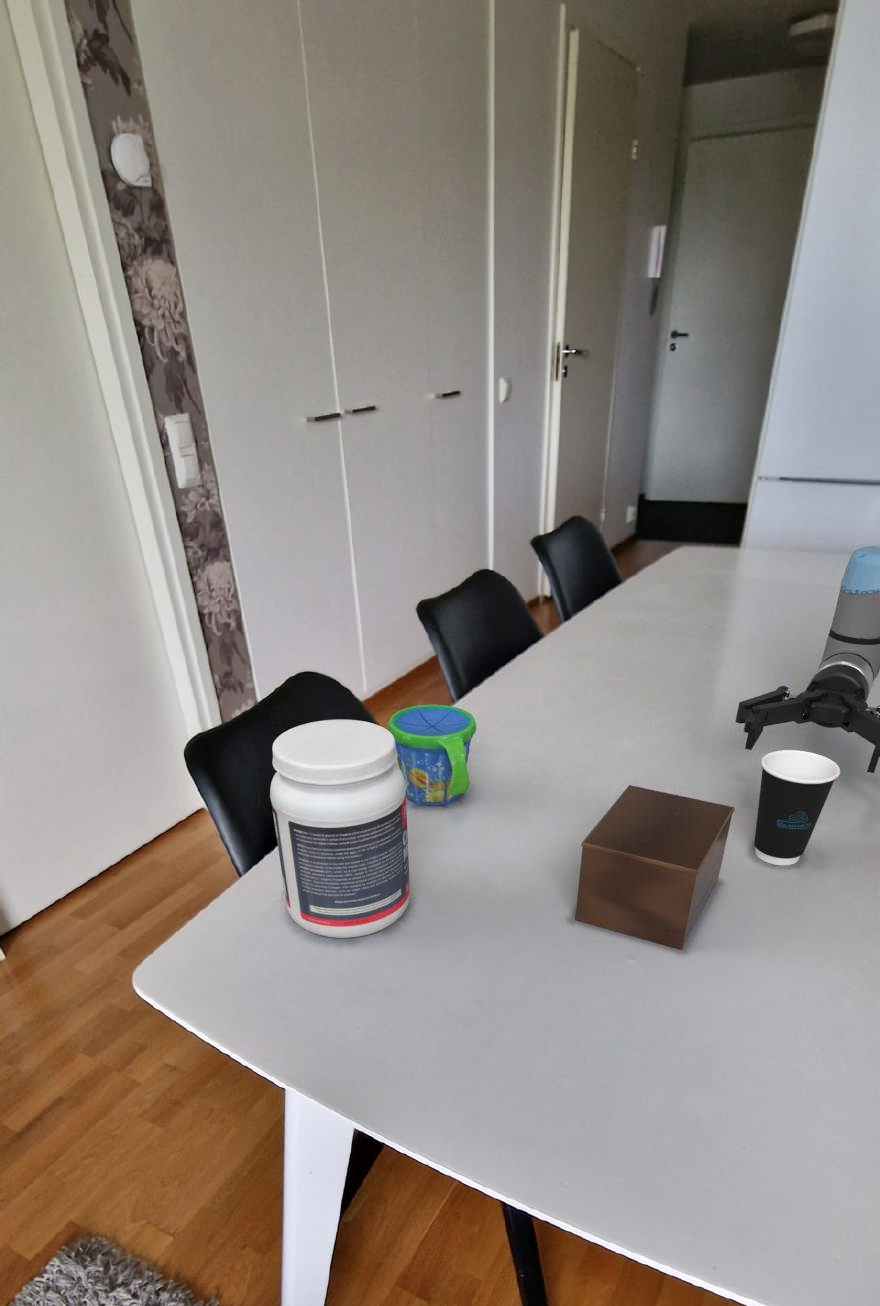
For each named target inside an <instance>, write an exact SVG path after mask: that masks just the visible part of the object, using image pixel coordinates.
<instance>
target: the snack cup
mask: <svg viewBox="0 0 880 1306" xmlns="http://www.w3.org/2000/svg"><path fill="white" fill-rule="evenodd" d="M387 730H388V731H389V732H390V733H391V734H392V735H393V736H394V738H395V743H396V751H397V760H396V762H397V766H398V767H399V768H400V770H401V771H402V773H403V776H404V779H405V783H406V799H408V800H410V801H413V802H414V803H415V804H416V805H417V806H421V805H425V806H431V807H434V806H447V805H448V804H449V803H452V802H454V801H456V800H457V799H458V798H460V796H461V795H462V794H463V793H465V792H466V791H467V790H468V789H469V787H470V777H469V772H468V761H469V755H470V746H471V741H472V739H473V736H474V735H475V733H476V732H477V723H476V719H475V717H474V716H473V715H472V714H471V713H470V712H469V711H467V710H465V709H462V708H459V707H456V706H452V705H445V704H420V705H414V706H409V707H406V708H402V709H400V710H398V711H396V712H395V713H394V714H392V716H391V717H390V718H389V720H388V722H387Z"/></svg>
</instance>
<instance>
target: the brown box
mask: <svg viewBox="0 0 880 1306" xmlns="http://www.w3.org/2000/svg"><path fill="white" fill-rule="evenodd" d="M735 809H736V806H730V805H727V804H721V803H716V802H713V801H707V800H702V799H699V798H698V799H697V798H692V797H689V796H683V795H680V794H679V795H678V794H675V793H669V792H665V791H659V790H655V789H650V788H647V787H641V786H637V785H631V784H629V785H628V786H627V787H626V788H625V790H624V791H623V792H622V793H621V794H620V796H619V797H618V798H617V799H616V801H615V802H613V804H612V805H611V807H610V808H609V809H608V810H607V811H606V813H605V814H604V815H603V816H602V817H601V818H600V820H599V821H598V822H597V823H596V825H595V826H594V827H593V828H592V829H591V830H590V832H589V833H588V834H587V836H586V837H585V838H584V839H583V840H582V842H581V843H580V846H581V858H580V860H581V861H580V868H579V878H578V888H577V897H576V907H575V915H574V920H575V921H578V922H582V923H584V924H588V925H592V926H595V927H598V928H602V929H604V930H609V931H613V932H617V933H620V934H623V935H628V936H631V937H634V938H638V939H641V940H644V941H648V942H652V943H655V944H658V945H662V946H666V947H670V948H672V949H676V950H680V951H682V950H683V949H684V947H685V944H686V943H687V941H688V940H689V937H690V936H691V934H692V931H693V930H694V927H695V925H696V924H697V922H698V920H699V918H700V916H701V915H702V913H703V911H704V909H705V907H706V905H707V903H708V901H709V899H710V897H711V895H712V894H713V891H714V889H715V887H716V886H717V884H718V882H719V878H720V872H721V867H722V864H723V859H724V854H725V850H726V845H727V842H728V836H729V832H730V828H731V827H730V826H731V822H732V818H733V814H734V812H735Z"/></svg>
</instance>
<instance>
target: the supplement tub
mask: <svg viewBox="0 0 880 1306" xmlns="http://www.w3.org/2000/svg"><path fill="white" fill-rule="evenodd" d="M271 748H272V750H271V751H272V760H271V761H272V767H273V769H274V770H275V771H276V772H275V774H274V775H273V777H272V779H271V782H270V788H269V789H270V790H269V792H270V793H269V798H270V802H271V808H272V815H273V822H274V828H275V835H276V841H277V842H276V843H277V847H278V856H279V862H280V870H281V877H282V883H283V891H284V897H285V907H286V909H287V911H288V913H289V915H290V917H291V919H292V920H293V921H294V922H295V923H296V924H297V925H298V926H300V928H303V929H304V930H306V931H308V932H310V933H313V934H316V935H318V936H323V937H327V938H337V939H349V938H358V937H363V936H367V935H371V934H373V933H377V932H379V931H381V930H384V929H386V928H388V927H389V926H391V925H392V924H394V923H395V922H397V921H398V920H399V919H400V918H401V917H402V916H403V914H404V913H405V912H406V910H407V908H408V906H409V903H410V900H411V887H410V886H411V885H410V861H409V837H408V835H409V834H408V813H407V812H408V810H407V809H408V808H407V797H406V783H405V779H404V776H403V773H402V771H401V770H400V768H399V767H398V764H397V763H396V762H397V751H396V743H395V738H394V736H393V735H392V734H391V733H390V731H389V729H388V728H387V729H386V728H385V727H383V726H381V725H379V724H377V723H376V724H375V723H373V722H369V721H364V720H357V719H325V720H317V721H312V722H308V723H304V724H300V725H297V726H295V727H292V728H290V729H288V730H286V731H284V732H282V733H281V734H280V735H278V736H277V737H276V738H275V740H274V741H273V743H272V747H271Z"/></svg>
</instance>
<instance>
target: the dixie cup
mask: <svg viewBox="0 0 880 1306" xmlns="http://www.w3.org/2000/svg"><path fill="white" fill-rule="evenodd" d="M760 765H761V767H762V772H761V779H760V780H761V781H760V786H759V787H760V789H759V797H758V807H757V814H756V825H755V831H754V842H753V844H754V848H755V850H754V854H755V856H756V857H757V858H758V859H760V860H761V861H763V862H765V863H768V864H770V865H776V866H790V865H794V864H796V863H798V862H799V860H800V859H801V856H802V855H804V853H805V851H806V849H807V846H808V844H809V842H810V839H811V837H812V834H813V832H814V830H815V827H816V825H817V822H818V820H819V818H820V816H821V813H822V811H823V808H824V806H825V804H826V801H827V799H828V797H829V793H830V792H831V789H832V787H833V784H834V782H835V780H836V779H837V778H839V776H840V774H841V768H840V766H839V765H838V763H836V762H835V761H834V760H832V759H830V758H828V757H826V756H824V755H821V754H818V753H815V752H811V751H805V750H797V749H782V750H775V751H771V752H768V753H766V754H765V755H764V756H763V757H762V758H761V760H760Z"/></svg>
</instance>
